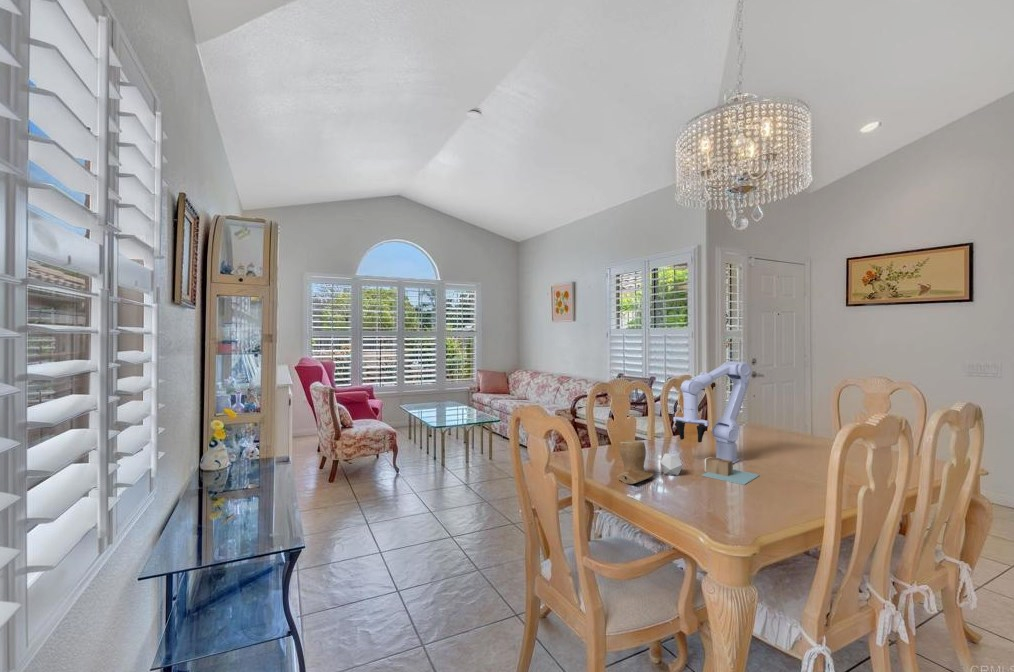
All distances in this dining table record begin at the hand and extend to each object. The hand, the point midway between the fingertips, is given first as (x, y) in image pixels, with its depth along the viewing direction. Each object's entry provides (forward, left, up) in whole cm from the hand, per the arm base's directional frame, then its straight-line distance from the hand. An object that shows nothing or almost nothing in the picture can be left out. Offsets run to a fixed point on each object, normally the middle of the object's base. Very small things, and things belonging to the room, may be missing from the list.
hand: (690, 440), depth 199 cm
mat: (+3, +17, -10) cm, 21 cm away
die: (+17, 0, -11) cm, 20 cm away
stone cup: (+34, -7, -11) cm, 37 cm away
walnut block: (+3, +8, -8) cm, 12 cm away
